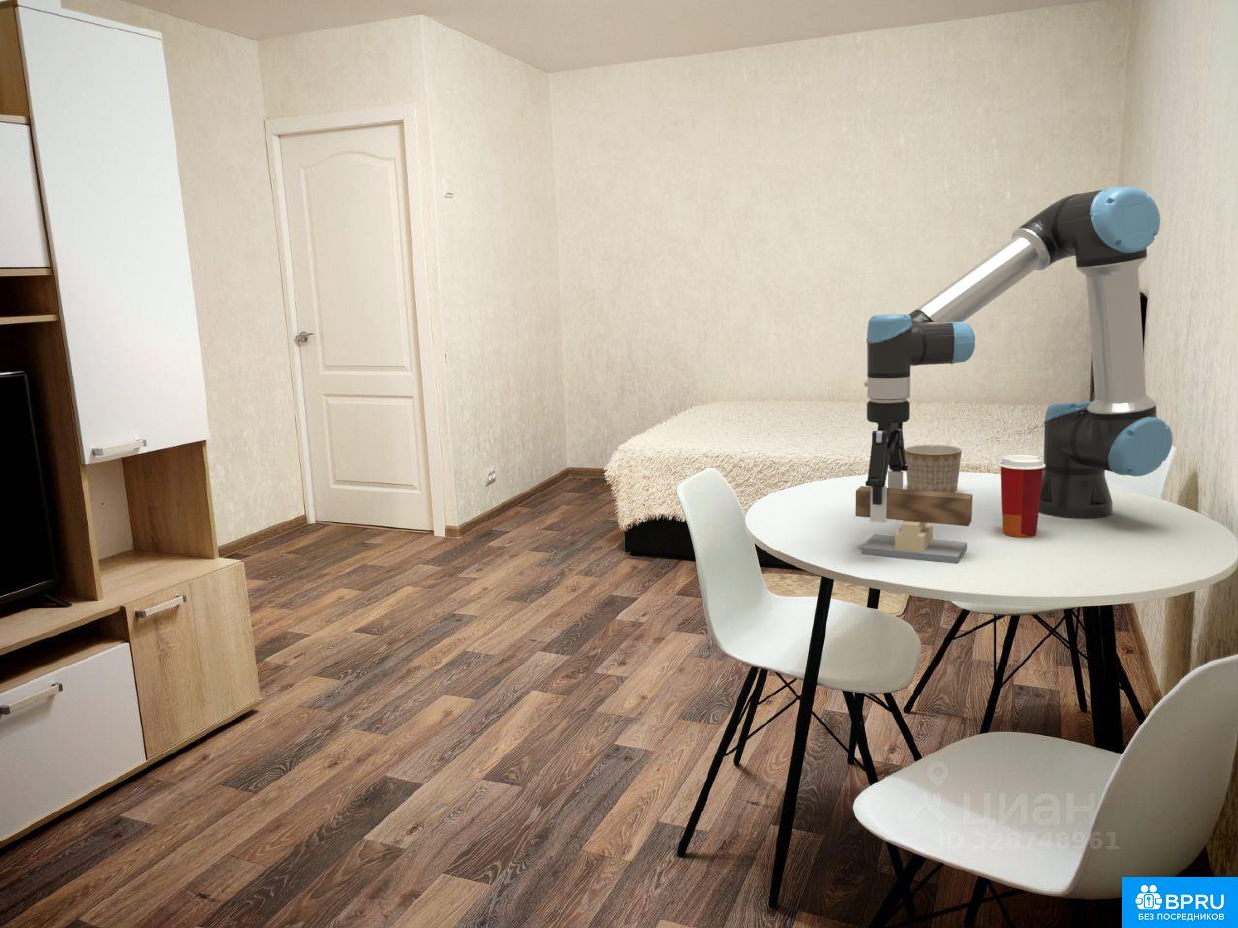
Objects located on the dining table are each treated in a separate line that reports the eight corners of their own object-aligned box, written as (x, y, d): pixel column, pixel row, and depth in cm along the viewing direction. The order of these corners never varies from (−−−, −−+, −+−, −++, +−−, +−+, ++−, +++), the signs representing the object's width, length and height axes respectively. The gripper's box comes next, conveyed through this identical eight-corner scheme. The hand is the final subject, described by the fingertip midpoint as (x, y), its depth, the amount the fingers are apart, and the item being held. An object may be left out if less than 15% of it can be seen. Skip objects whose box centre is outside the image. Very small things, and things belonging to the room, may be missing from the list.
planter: (921, 484, 222) (921, 443, 220) (970, 491, 212) (971, 447, 211) (893, 494, 213) (894, 450, 211) (943, 501, 204) (944, 456, 202)
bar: (971, 520, 163) (972, 494, 162) (968, 526, 160) (969, 498, 159) (860, 511, 173) (861, 486, 172) (855, 516, 169) (855, 490, 168)
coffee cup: (1040, 528, 178) (1043, 454, 175) (1044, 540, 171) (1048, 462, 168) (994, 527, 181) (996, 453, 178) (996, 537, 173) (999, 461, 171)
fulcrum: (966, 548, 167) (967, 516, 166) (957, 563, 159) (958, 529, 158) (874, 539, 176) (874, 509, 175) (861, 553, 167) (861, 521, 166)
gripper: (883, 391, 177) (882, 496, 181) (849, 408, 156) (849, 527, 160) (923, 392, 173) (921, 499, 177) (893, 409, 152) (892, 530, 156)
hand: (887, 512), depth 169 cm, fingers open, 13 cm apart
